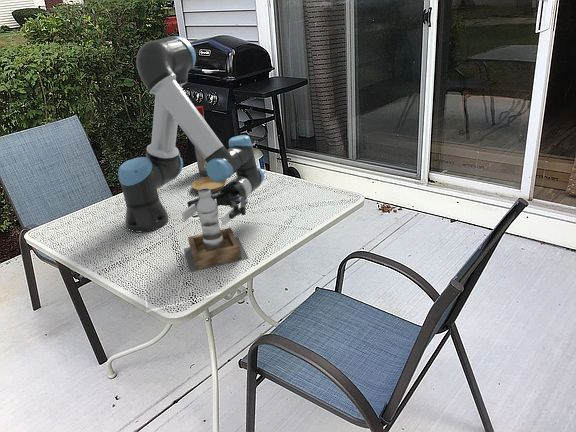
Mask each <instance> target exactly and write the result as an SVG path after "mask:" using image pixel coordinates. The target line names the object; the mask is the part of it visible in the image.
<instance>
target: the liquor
mask: <svg viewBox="0 0 576 432" xmlns="http://www.w3.org/2000/svg"><path fill="white" fill-rule="evenodd" d="M195 107H196V109H197V110H198V112H199V113H200V114H201V116H202V117H203V118H204V119H205V115H204V114H205V112H204V106H203V105H199V106H195ZM193 146H194V145H193ZM194 153H195V157H196V164H197V169H198V173H199V175H200V176H201V177H209V176H208V174H207V171H206V166H207V164H208V163H207V162H206V161H205V159H204V158H203V156H202V155H201V154H200V153H199V151H198V150H197V149H196V147H195V146H194Z"/></svg>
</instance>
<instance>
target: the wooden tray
mask: <svg viewBox="0 0 576 432" xmlns="http://www.w3.org/2000/svg"><path fill="white" fill-rule="evenodd" d="M220 230H221V234H222V236H223V239H224V247H223V248H221V249H216V250H212V251H206V250H205V248H204V246H203V233H200V234H196V235H191V236H188V237H187V239H188V240H187V241H188V244H189V245H188V246H189V247H190V250H191V253H192V257H193V260H194V264H195V267H196V269H200V268H204V267H208V266H212V265H217V264H221V263H225V262H229V261H234V260H238V259H242V257H241V250H240V246H239V244H238V242H237V240H236V238H235V237H236V236H235V233H234V231H233V230H232V228H231V227H227V228H224V229H220Z"/></svg>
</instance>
